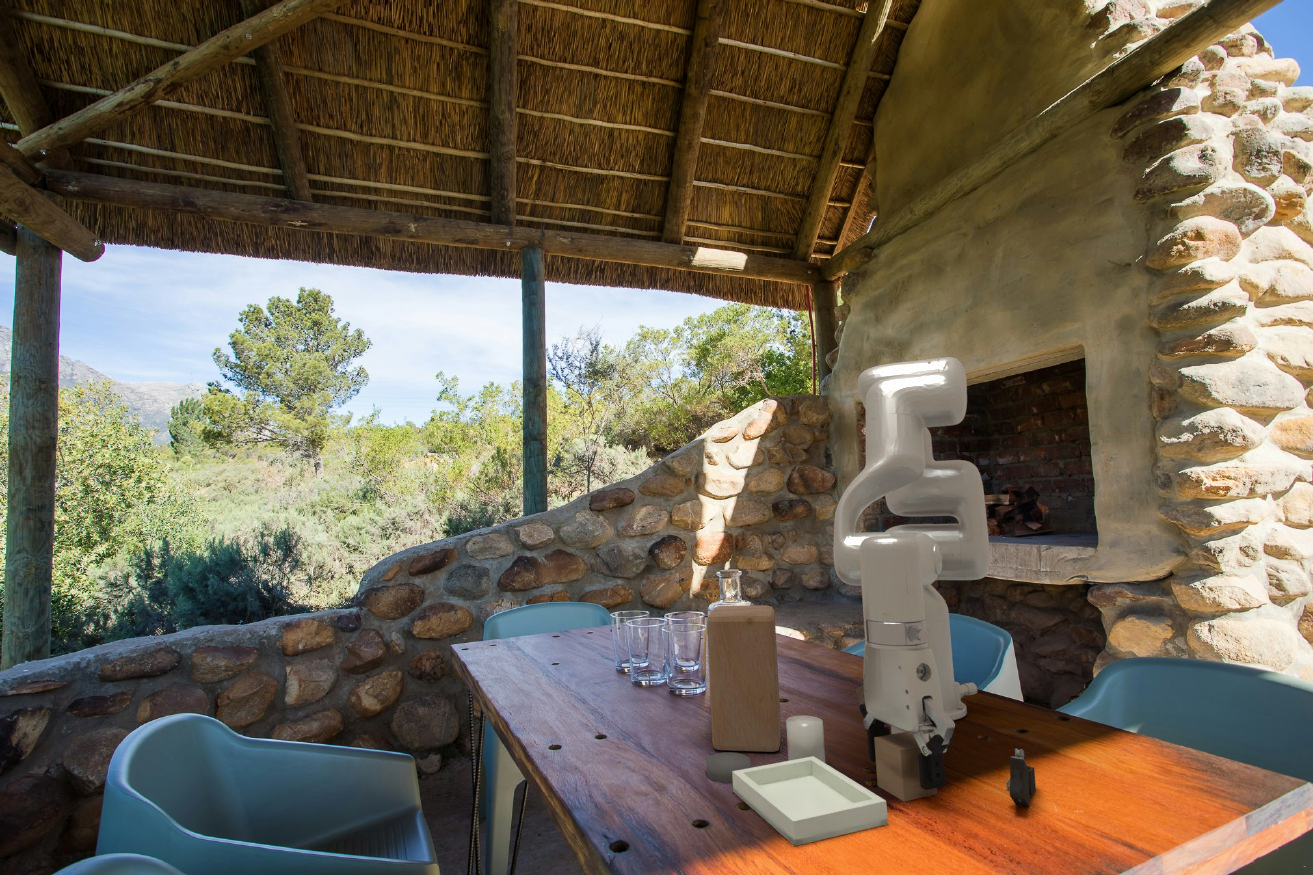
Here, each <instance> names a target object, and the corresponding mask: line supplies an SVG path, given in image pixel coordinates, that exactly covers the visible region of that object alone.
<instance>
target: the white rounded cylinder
mask: <svg viewBox="0 0 1313 875" xmlns="http://www.w3.org/2000/svg"><path fill="white" fill-rule="evenodd" d="M785 723H786V724H785V725H786V726H785V727H786V738H787V740H786V743H787V757H788V758H787V761H791V760H796V759H801V758H807V757H812V756H814V757H815V758H817V759H819V760H820V761H822V762H824V763H825V764H826V755H825V754H826V753H825V737H824V725H823V724H824V723H823V720H822V718H819V717H817V716H812V715H805V714H803V715H792V716H790V717H788V718H787V719H786V720H785Z"/></svg>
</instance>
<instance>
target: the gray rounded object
mask: <svg viewBox="0 0 1313 875" xmlns="http://www.w3.org/2000/svg"><path fill="white" fill-rule="evenodd" d="M705 762H706V775H707V777H708V779H710V780H711V781H714V782H717V783H722V784H723V783H724V784H733V776H732V771H737V770H742V769H748V768H752V765H751V758H750V757H749V756H747V755H746V754H743V753H739V752H733V751H732V752H730V751H729V752H728V751H727V752H726V751H725V752H718V753H714V754H712V755H709V756H708V757H707V758H706V761H705Z"/></svg>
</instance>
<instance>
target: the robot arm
mask: <svg viewBox="0 0 1313 875" xmlns="http://www.w3.org/2000/svg"><path fill="white" fill-rule="evenodd" d="M857 379H858V380H857V388H858V393H859V396H860V400H861V402H862V404H863V407H864V409H865V466H864V468H863V470H862V471H861V472H860V473H859V474H858V475H857V476H855V478H854V479H853V480H852V481H851V483H850V484H849V485H848V486H847V488H846V489H845V491H844V492H843V494H842V495H841V497H840V499H839V501H838V503H837V507H836V509H835V515H834V523H833V525H834V526H833V527H834V528H833V553H832V554H833V564H834V566H833V567H834V569H835V570H834V571H835V573H836V575H837V577H838V578H839V579H840V580H841V582H843V583H844V584H847V585H850V586H855V587H857V586H858V587H861V595H862V597H861V598H862V610H863V612H862V613H863V626H864V628H863V629H864V641H865V642H864V648H863V650H864V652H863V684H862V685H860V686H858V687H856V688H855V695H856V698H857V702H858V704H859V707H858V708H859V711H860V713H861V715H862V718H863V726H864V728H865V729H867V730H866V736H867V751H868V753H867V754H868V760H869V761H870V762H871V763H876V754H875V740H874V737H880V736H885V735H890V730H889V727H884V726H885V725H886V724H889V725H891V726H894V727H896V728H898V729H901V730H903V731H905V732H908V733H911V734H913V735H914V737H915V739H916V741H917V743H918V745H919V747H920V749H921V751H922V753H919V754H918V762H919V775H920V785H921V788H923V789H925V790H929V789H934V788H937V789H938V788H944V787H945V785H946V773H945V761H944V754H945V753H946V752H947V750H948V747H949V746H950V745H951V743H952V738H953V734H954V731H955V728H956V724H955V722H954V721H955V720H960V719H962V718H963V717H965V716H966V715H967V714H968V711H967V709H968V708H967V705H966V704H965V703H964V702H963V701H962V700H961V699H962V698H964V696H972V695H976V694H978V686H977V685H976V684H975V682H966V683H963V684H961V683H960V682H958V681H955V675H954V673H955V672H954V662H953V661H954V660H953V652H952V650H953V649H952V638H951V627H950V626H951V625H950V614H949V607H948V605H947V603H946V600H945V599H944V597H943V596H942V595H941V594H940V593H939V591H938V590H937V589H936V588H935V587H934V586H933V585H932V584H933V583H934V582H935V581H974V580H981V579H983V578H985V577H986V576H987V575H988V573H989V571H990V568H991V567H990V566H991V551H990V542H989V541H990V540H989V531H988V521H987V511H986V510H987V508H986V502H985V501H986V500H985V499H986V498H985V493H984V484H983V480H982V477H981V472H979V469H978V467H977V466H976V465H975V464H974V463H972V462H970V461H969V460H968V461H967V460H962V459H951V460H935V459H934V454H933V444H932V442H933V441H932V435H931V433H930V432H931V431H930V430H929V428H934V427H936V428H937V427H947V426H955V425H958V424H960V423H961V422H962V421H963V420H964V418H965V416H966V413H967V407H968V406H967V404H968V393H967V391H968V390H967V389H968V388H967V387H968V386H967V373H966V371H965V368H964V366H963V363H961V361H960V360H959V359H958V358H956V357H951V356H945V357H944V356H943V357H936V358H927V359H919V360H918V359H917V360H909V361H901V362H892V363H886V364H879V365H876V366H873V367H869V368H867V369H865V370H864V371H862V372H861V373H860V375H859V376H858V378H857ZM883 497H885V502H886V506H887V508H888V510H889V512H891V513H892V514H895V515H896V516H901V517H943V516H944V517H945V516H946V517H947V516H948V517H949V516H950V517H954V518H956V520H957V521H958V523H936V524H934V523H917V524H916V523H914V524H913V523H912V524H899V525H896V526H892V527H890V528H888V529H887V530H885V531H884V532H883V531H878V532H877V531H876V532H873V531H872V532H869V531H868V532H856V526H857V521H858V519H859V517H860V515H861V514H862V513H863V512H864V510H865V509H866V508H867V507H869V506H870V505H871V504H873V503H874V502H875V501H877V500H879V499H881V498H883ZM919 724H922V725H923V726H919ZM926 733H929V742H928V741H927V739H926V738H925V736H924V734H926Z"/></svg>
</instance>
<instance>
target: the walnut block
mask: <svg viewBox="0 0 1313 875" xmlns="http://www.w3.org/2000/svg"><path fill="white" fill-rule="evenodd" d="M874 740H875V754H876V762H875V766H876V779H877V780H876V782H877V787H878V788H880V789H882V790H884V791H886V792H887V793H889V794H890V795H892V796H893V797H896V798H898V799H899V800H900V801H903V802H908V801H913V800H918V799H921V798H926V797H931V796H935V795H938V788H934V789H929V790H925V789H923V788H921V785H920V775H919V762H918V754H919V753H922V751H921V749H920V747H919V745H918V743H917V741H916V739H915V737H914V735H912V734H910V733H908V732H902V733H896V734H891V735H885V736H880V737H874Z"/></svg>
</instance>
